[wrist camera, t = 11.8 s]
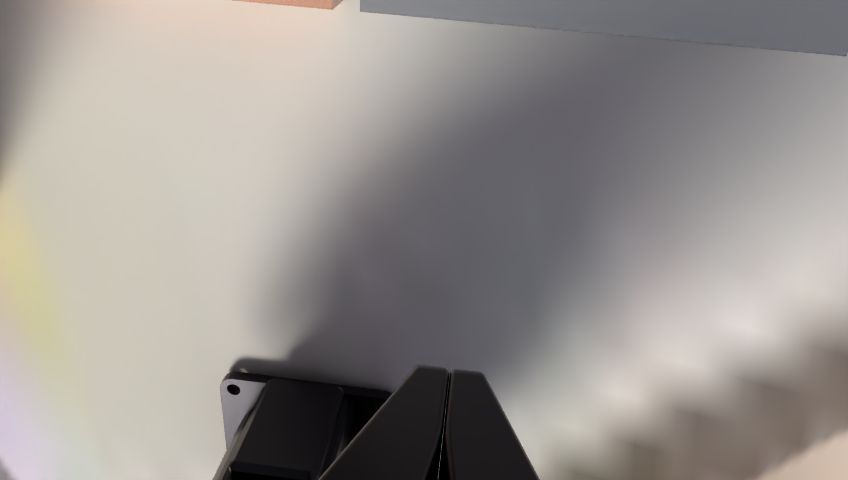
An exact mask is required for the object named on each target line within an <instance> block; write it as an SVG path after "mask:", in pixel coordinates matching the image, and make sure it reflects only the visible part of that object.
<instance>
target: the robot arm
mask: <svg viewBox="0 0 848 480" xmlns="http://www.w3.org/2000/svg"><path fill="white" fill-rule="evenodd" d="M448 382H449V386H448ZM232 384H234V385H237V386H238V387H239V388H237V387H234V386H233V385H232ZM220 391H221V400H222V410H223V419H224V428H225V438H226V447H227V451H226V453H225V455H224V457H223V459H222V461H221V463H220V465H219V467H218V470H217V472H216V474H215V476H214V478H213V480H540V479H539V477H538V475H537V474H536V472H535V470H534V468H533V466H532V464H531V462H530V460H529V458H528V457H527V455H526V453H525V451H524V449H523V447H522V445H521V443H520V441H519V439H518V438H517V436H516V434H515V432H514V430H513V428H512V426H511V424H510V422H509V421H508V419H507V417H506V415H505V413H504V411H503V409H502V407H501V405H500V403H499V402H498V400H497V398H496V396H495V394H494V392H493V390H492V388H491V386H490V385H489V383H488V381H487V379H486V377H485V376H484V374H482V373H481V372H476V371H468V370H460V369H454V370H452V371H451V372H450V377H449V371H448V369H446V368H443V367H435V366H427V365H418V366H416V367H415V368H414V369H413V370H412V372H411V373H410V374H409V375H408V376H407V377H406V378H405V380H404V381H403V382H402V383H401V384H400V385H399V387H398V388H397V389H396V390H395V391H394V392H393V394H392V393H390V392H388V391H383V390H375V389H368V388H360V387H352V386H344V385H336V384H328V383H320V382H312V381H304V380H296V379H289V378H281V377H273V376H265V375H257V374H249V373H241V372H230V373H228V374H227V375H226V376H225V377H224V379H223V381H222V383H221V386H220ZM447 391H448V395H447ZM446 400H447V404H446ZM380 403H383V405H382V406H381V405H380ZM445 409H446V413H445ZM444 418H445V422H444ZM443 427H444V431H443ZM442 436H443V440H442ZM441 445H442V449H441ZM440 454H441V458H440ZM439 463H440V467H439ZM438 472H439V476H438Z"/></svg>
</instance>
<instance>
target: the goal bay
mask: <svg viewBox="0 0 848 480" xmlns="http://www.w3.org/2000/svg"><path fill="white" fill-rule="evenodd" d="M234 1H244V2H255V3H266V4H277V5H288V6H299V7H310V8H321V9H332V10H333V9H334V8H335V7H336V6H338V5H339V4H340V3H341V0H234Z"/></svg>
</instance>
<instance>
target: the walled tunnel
mask: <svg viewBox="0 0 848 480" xmlns="http://www.w3.org/2000/svg"><path fill="white" fill-rule="evenodd" d="M360 12H370V13H381V14H392V15H403V16H414V17H425V18H436V19H446V20H457V21H468V22H479V23H490V24H501V25H512V26H523V27H534V28H544V29H555V30H566V31H577V32H588V33H599V34H610V35H621V36H632V37H643V38H653V39H664V40H675V41H686V42H697V43H708V44H719V45H730V46H741V47H751V48H762V49H773V50H784V51H795V52H806V53H817V54H828V55H839V56H846V55H847V52H848V0H360Z"/></svg>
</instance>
